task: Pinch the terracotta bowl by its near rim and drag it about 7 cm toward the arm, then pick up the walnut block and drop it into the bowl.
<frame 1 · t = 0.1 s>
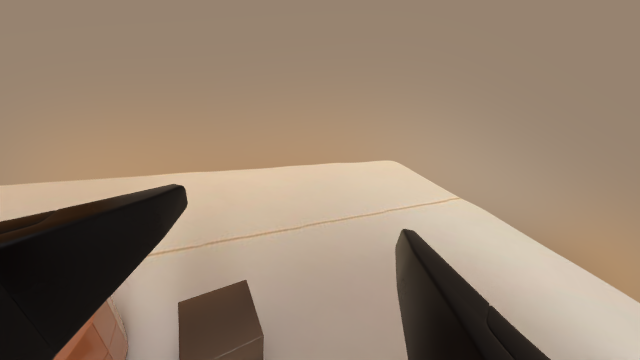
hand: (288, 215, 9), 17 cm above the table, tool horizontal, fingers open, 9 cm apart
block: (224, 354, 19), on the table
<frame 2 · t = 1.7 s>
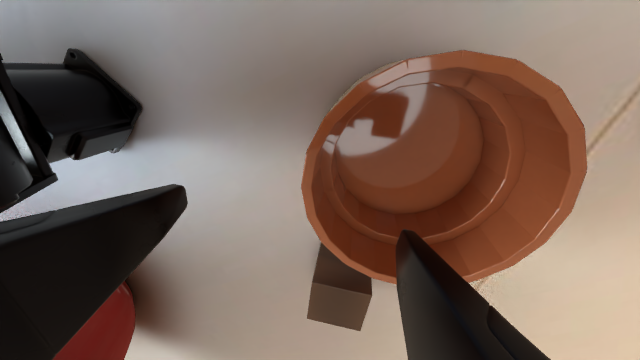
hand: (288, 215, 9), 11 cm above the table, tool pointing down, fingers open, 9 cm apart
block: (341, 264, 24), on the table
bowl: (403, 153, 18), on the table
mixing bowl: (91, 279, 34), on the table
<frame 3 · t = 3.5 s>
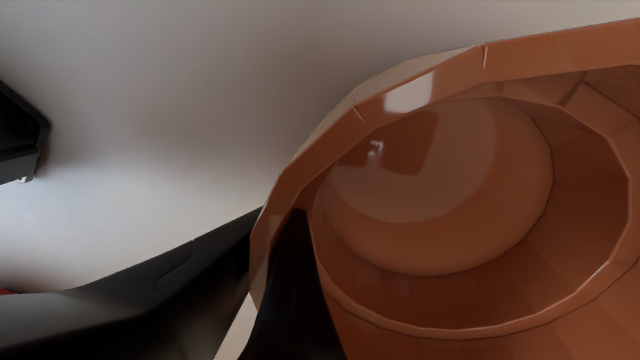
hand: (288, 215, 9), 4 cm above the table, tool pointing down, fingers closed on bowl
bowl: (423, 195, 12), on the table, touching gripper
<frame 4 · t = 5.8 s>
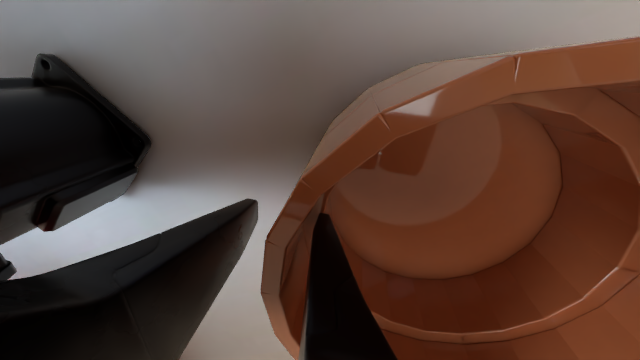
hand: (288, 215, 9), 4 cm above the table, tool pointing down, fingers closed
bowl: (430, 198, 12), on the table
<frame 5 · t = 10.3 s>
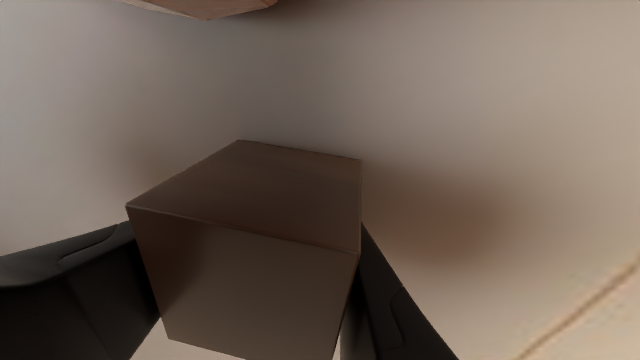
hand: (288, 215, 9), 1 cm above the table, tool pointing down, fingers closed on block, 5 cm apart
block: (294, 202, 10), on the table, touching gripper
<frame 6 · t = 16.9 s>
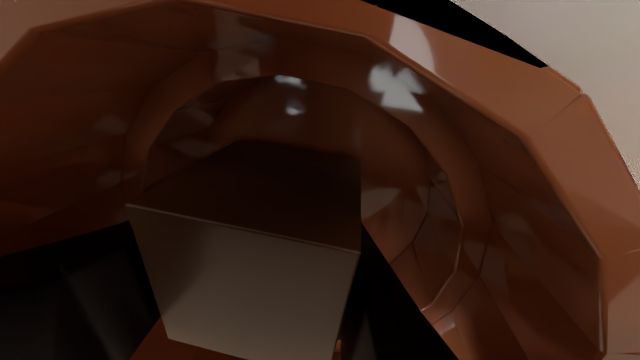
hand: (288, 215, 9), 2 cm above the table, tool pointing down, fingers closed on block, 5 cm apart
block: (294, 202, 10), point 1 cm above the table, touching gripper
bowl: (310, 193, 11), on the table
when the fingers open (4 cm above the table, at t = 26.1 s): block drops 2 cm, resting on bowl.
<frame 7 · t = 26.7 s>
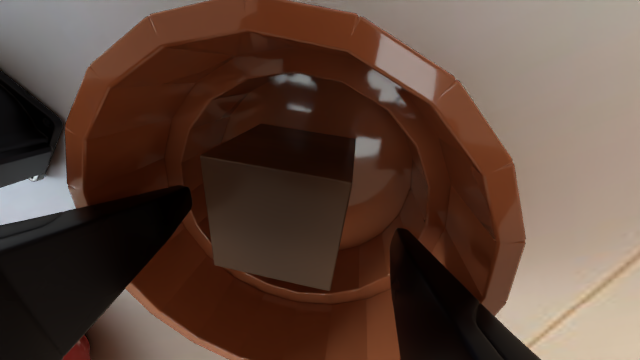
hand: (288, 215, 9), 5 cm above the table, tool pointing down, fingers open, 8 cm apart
block: (303, 174, 13), point 1 cm above the table, touching bowl
bowl: (313, 173, 13), on the table, touching block, gripper
mixing bowl: (40, 321, 28), on the table
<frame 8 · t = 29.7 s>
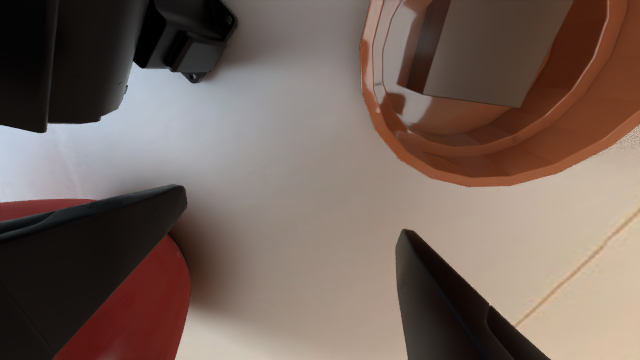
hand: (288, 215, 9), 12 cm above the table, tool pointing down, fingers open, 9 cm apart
block: (453, 53, 15), point 1 cm above the table, touching bowl
bowl: (456, 57, 16), on the table, touching block
mixing bowl: (139, 247, 31), on the table
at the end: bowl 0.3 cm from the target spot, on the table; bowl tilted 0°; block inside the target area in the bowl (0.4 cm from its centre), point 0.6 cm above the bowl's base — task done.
